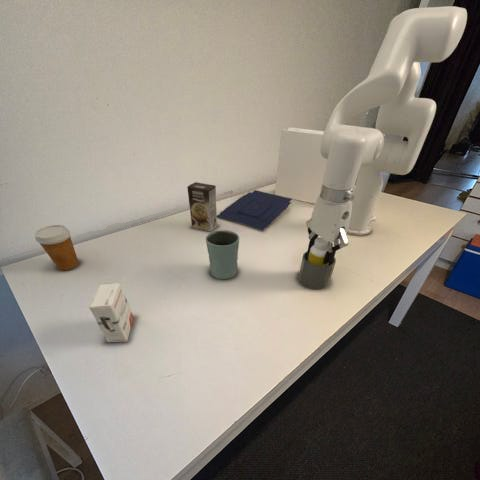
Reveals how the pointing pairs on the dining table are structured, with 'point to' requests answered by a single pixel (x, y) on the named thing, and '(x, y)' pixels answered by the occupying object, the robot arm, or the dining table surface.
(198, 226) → the coffee box
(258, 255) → the dining table surface
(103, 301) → the ink box
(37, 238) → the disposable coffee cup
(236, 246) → the teal cup
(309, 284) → the steel cup
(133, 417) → the dining table surface
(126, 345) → the dining table surface
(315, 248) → the pill bottle
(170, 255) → the dining table surface
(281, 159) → the block
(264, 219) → the folded navy cloth
